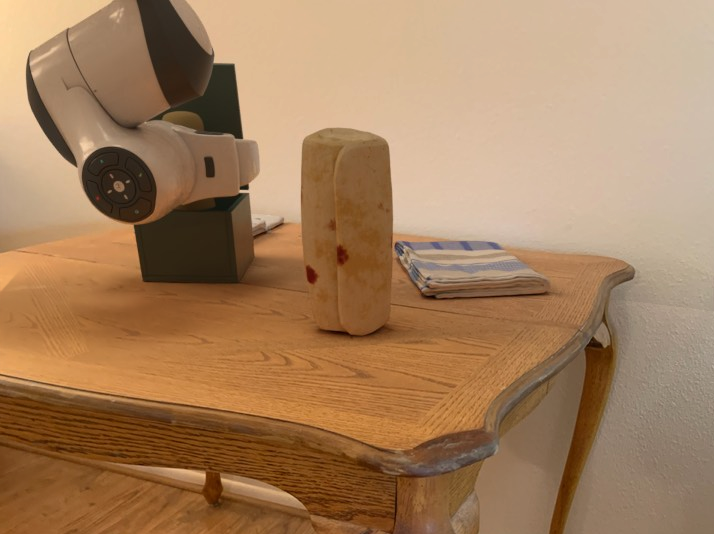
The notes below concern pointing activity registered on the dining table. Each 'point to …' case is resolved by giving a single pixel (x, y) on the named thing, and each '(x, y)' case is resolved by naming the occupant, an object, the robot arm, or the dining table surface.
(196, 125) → the cork
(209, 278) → the bin
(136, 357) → the dining table surface
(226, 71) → the bin lid
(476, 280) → the dish towel
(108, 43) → the robot arm
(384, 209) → the food model
